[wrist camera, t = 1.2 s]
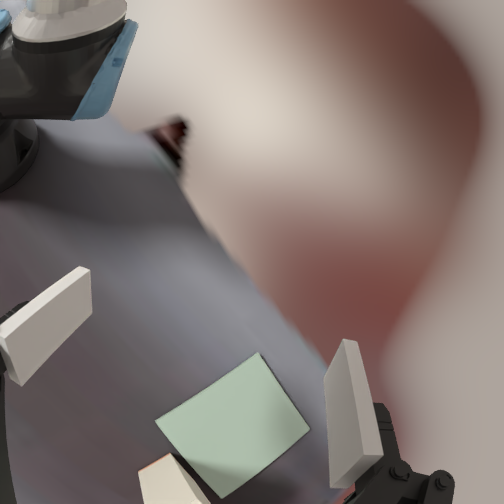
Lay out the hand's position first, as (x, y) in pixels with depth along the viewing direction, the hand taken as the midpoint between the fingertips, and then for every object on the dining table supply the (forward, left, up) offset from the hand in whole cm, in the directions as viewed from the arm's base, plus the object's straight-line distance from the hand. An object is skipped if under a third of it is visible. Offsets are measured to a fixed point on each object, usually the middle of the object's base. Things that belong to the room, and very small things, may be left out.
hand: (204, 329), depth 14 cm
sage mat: (+15, +2, -23) cm, 27 cm away
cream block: (+15, -9, -23) cm, 29 cm away
